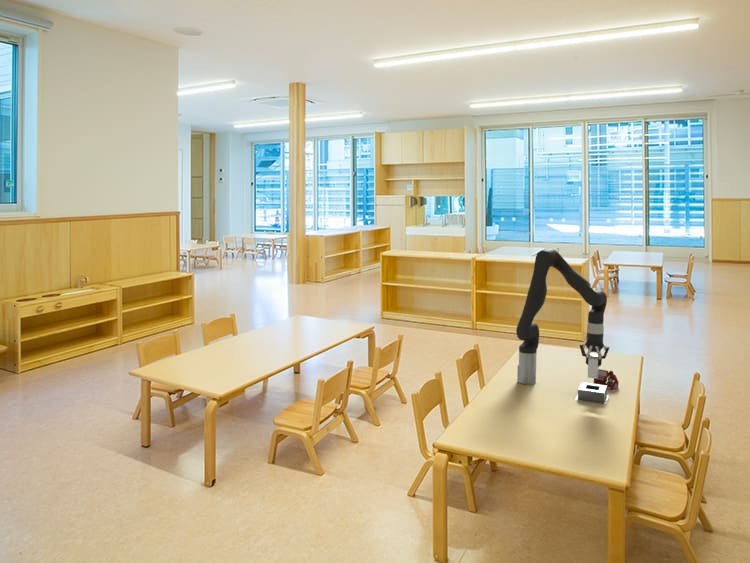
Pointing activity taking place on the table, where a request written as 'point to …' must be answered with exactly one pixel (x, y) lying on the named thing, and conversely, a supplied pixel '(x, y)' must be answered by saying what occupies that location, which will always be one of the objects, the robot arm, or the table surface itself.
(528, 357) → the robot arm
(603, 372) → the toy fire truck
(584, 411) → the table surface
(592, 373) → the brushed square peg
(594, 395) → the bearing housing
